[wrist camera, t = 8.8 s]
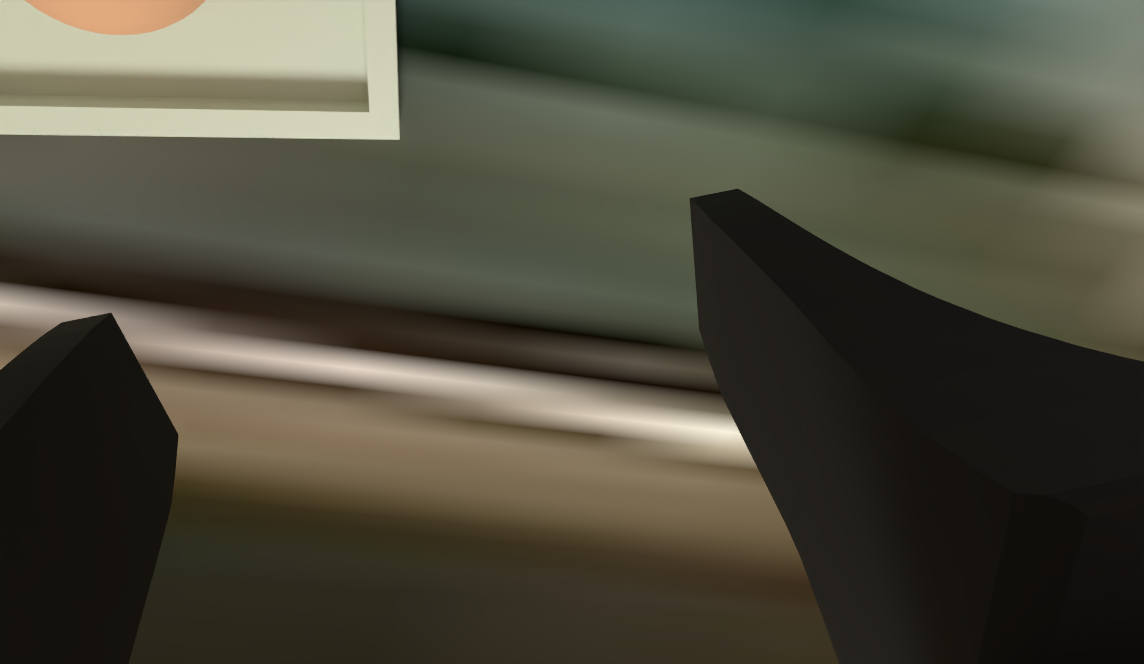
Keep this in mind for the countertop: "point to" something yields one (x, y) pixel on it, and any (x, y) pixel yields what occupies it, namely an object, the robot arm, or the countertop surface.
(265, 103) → the tray
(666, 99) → the countertop surface
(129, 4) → the ball
